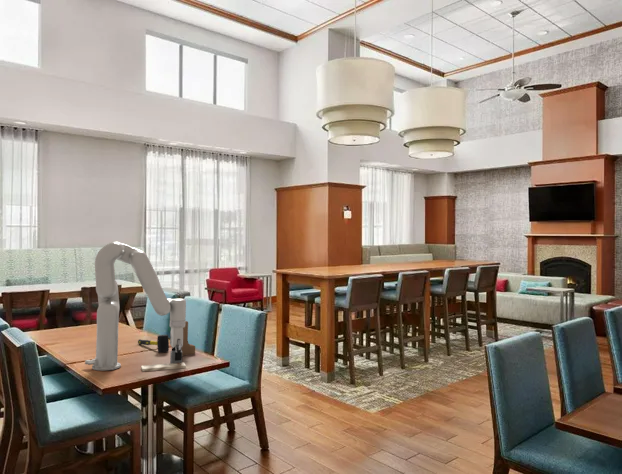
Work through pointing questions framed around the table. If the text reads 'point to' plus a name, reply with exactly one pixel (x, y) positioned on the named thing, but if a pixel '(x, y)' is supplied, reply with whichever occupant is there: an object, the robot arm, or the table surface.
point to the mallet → (158, 343)
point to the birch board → (163, 366)
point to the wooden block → (187, 348)
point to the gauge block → (172, 358)
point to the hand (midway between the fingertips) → (176, 358)
